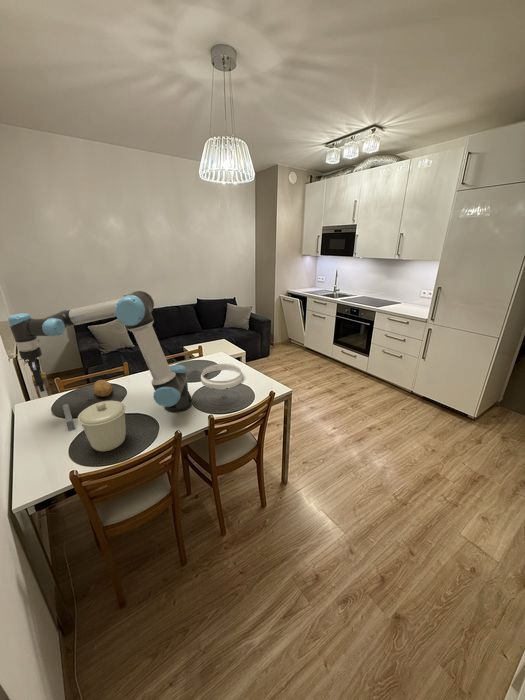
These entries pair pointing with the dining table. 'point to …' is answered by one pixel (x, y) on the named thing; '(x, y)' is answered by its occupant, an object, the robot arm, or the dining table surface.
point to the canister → (104, 424)
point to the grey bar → (68, 417)
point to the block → (44, 384)
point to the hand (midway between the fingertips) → (44, 394)
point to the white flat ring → (221, 384)
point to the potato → (102, 388)
